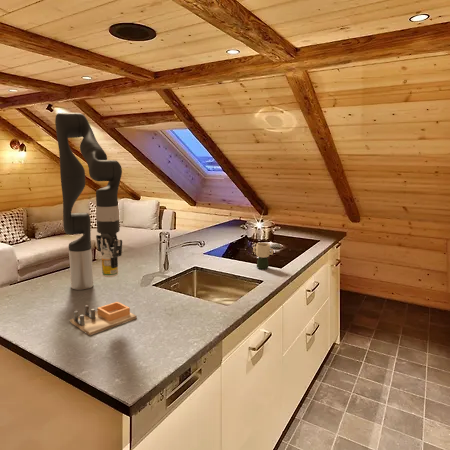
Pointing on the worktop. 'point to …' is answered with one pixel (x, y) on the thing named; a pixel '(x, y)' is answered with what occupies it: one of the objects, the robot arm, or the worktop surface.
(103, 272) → the supplement bottle
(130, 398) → the worktop surface
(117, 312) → the box
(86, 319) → the board
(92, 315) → the set of grey pegs
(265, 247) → the character mug
